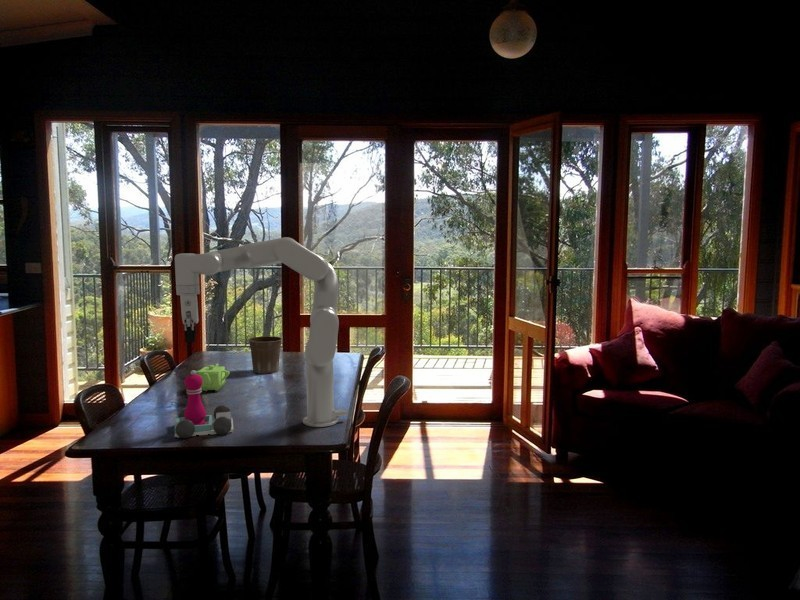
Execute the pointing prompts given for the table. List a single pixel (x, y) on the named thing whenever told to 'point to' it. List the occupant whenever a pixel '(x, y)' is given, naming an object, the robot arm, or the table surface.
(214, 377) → the teapot
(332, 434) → the table surface
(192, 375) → the pepper mill
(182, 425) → the chassis
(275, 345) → the plant pot
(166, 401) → the table surface
